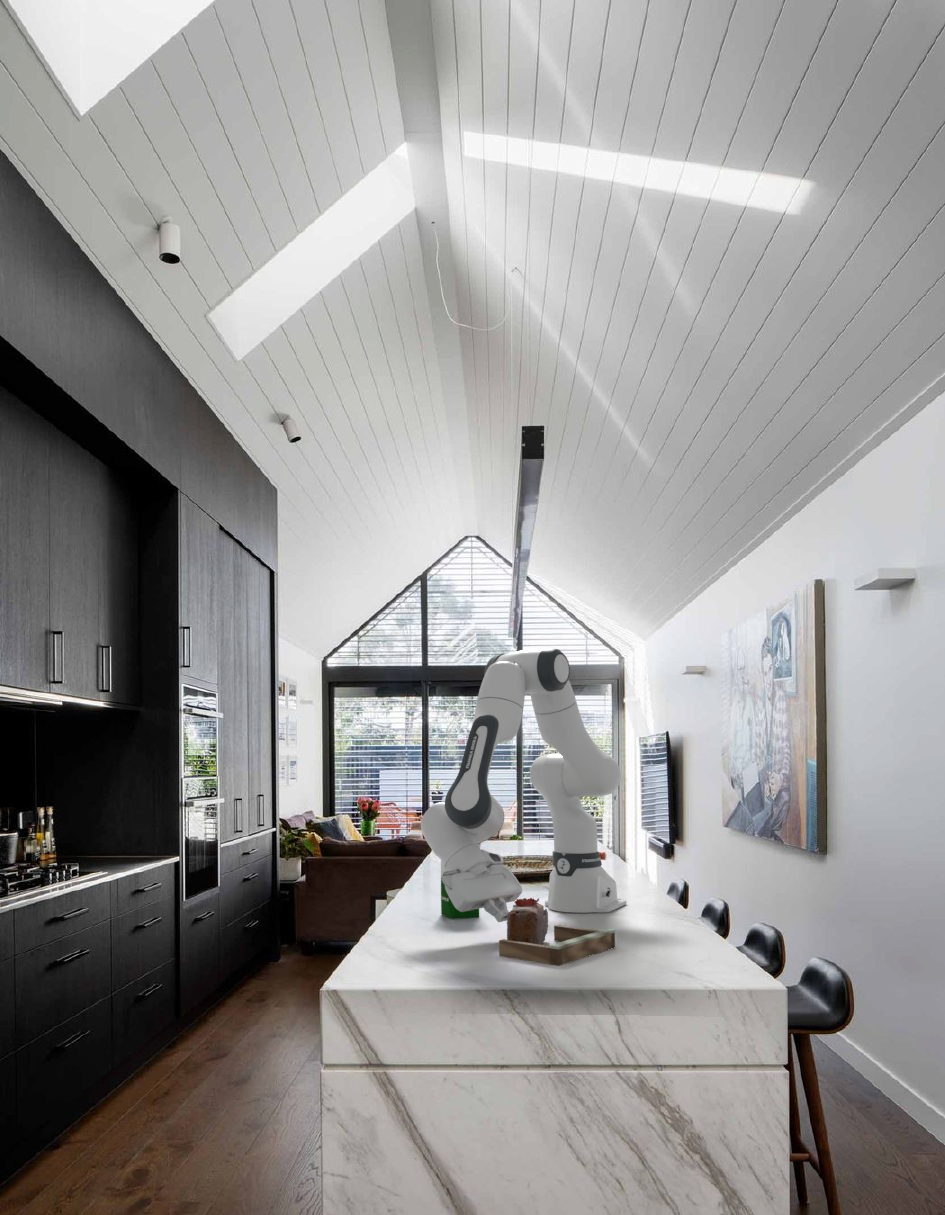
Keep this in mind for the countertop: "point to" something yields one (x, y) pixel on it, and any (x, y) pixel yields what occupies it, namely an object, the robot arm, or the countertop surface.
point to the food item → (527, 922)
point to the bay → (561, 946)
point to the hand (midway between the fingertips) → (505, 919)
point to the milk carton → (448, 906)
